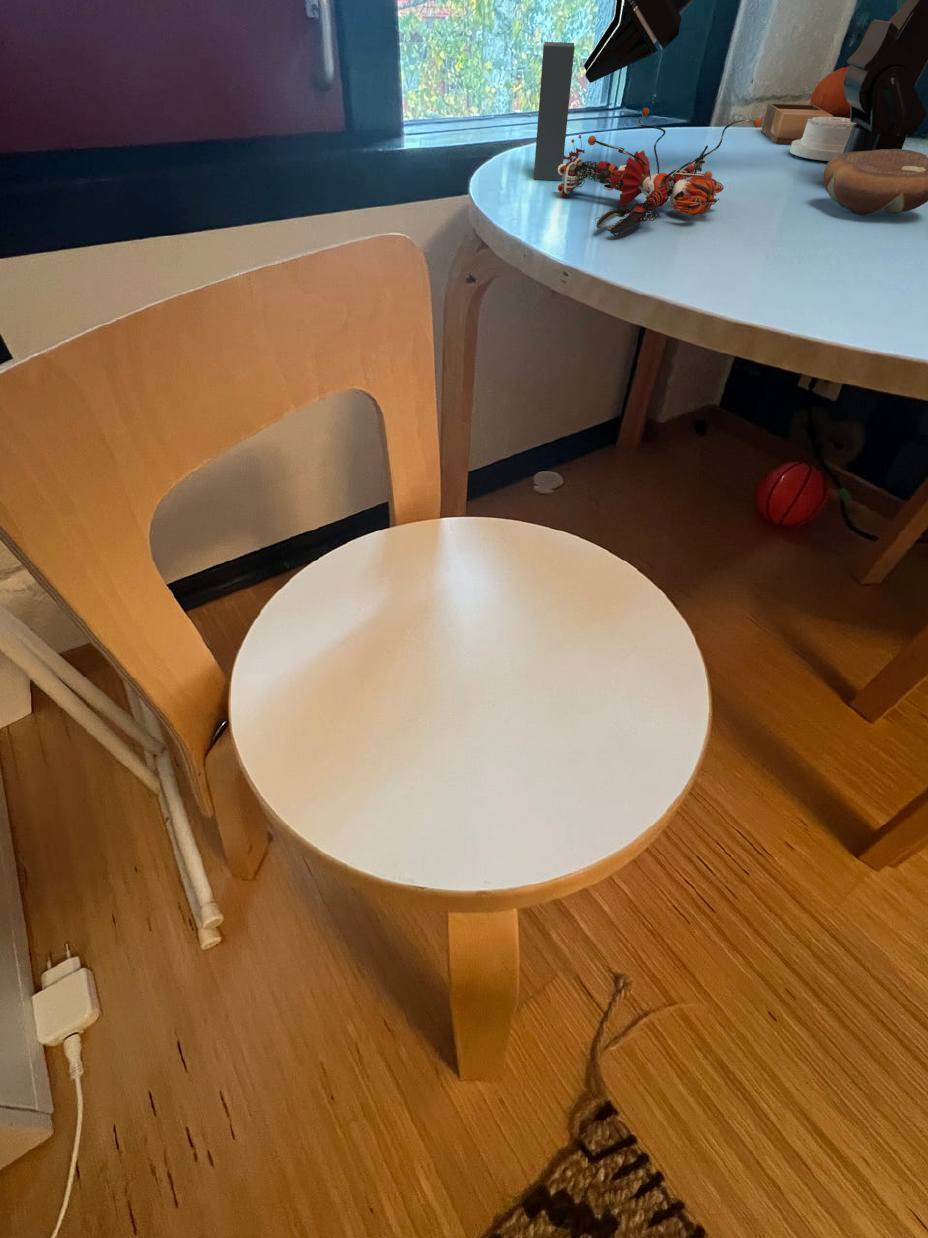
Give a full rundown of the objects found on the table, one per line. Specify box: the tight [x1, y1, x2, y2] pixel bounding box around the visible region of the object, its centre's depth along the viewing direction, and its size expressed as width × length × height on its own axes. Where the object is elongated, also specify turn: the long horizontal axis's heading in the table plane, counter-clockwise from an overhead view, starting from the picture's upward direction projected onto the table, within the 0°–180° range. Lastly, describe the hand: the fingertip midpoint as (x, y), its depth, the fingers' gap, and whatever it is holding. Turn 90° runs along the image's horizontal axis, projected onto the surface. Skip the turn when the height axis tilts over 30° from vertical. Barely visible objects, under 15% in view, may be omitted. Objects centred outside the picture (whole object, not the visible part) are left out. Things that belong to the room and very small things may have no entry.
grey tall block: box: [533, 41, 575, 182], centre depth 84 cm, size 4×5×13 cm
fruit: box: [809, 65, 851, 119], centre depth 118 cm, size 9×9×8 cm
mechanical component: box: [789, 117, 856, 162], centre depth 98 cm, size 10×4×10 cm
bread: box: [822, 148, 928, 216], centre depth 76 cm, size 11×11×5 cm
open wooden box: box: [760, 102, 833, 145], centre depth 109 cm, size 11×7×4 cm
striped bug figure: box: [557, 106, 763, 237], centre depth 74 cm, size 25×9×20 cm
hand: (586, 73), depth 81 cm, fingers open, 9 cm apart
